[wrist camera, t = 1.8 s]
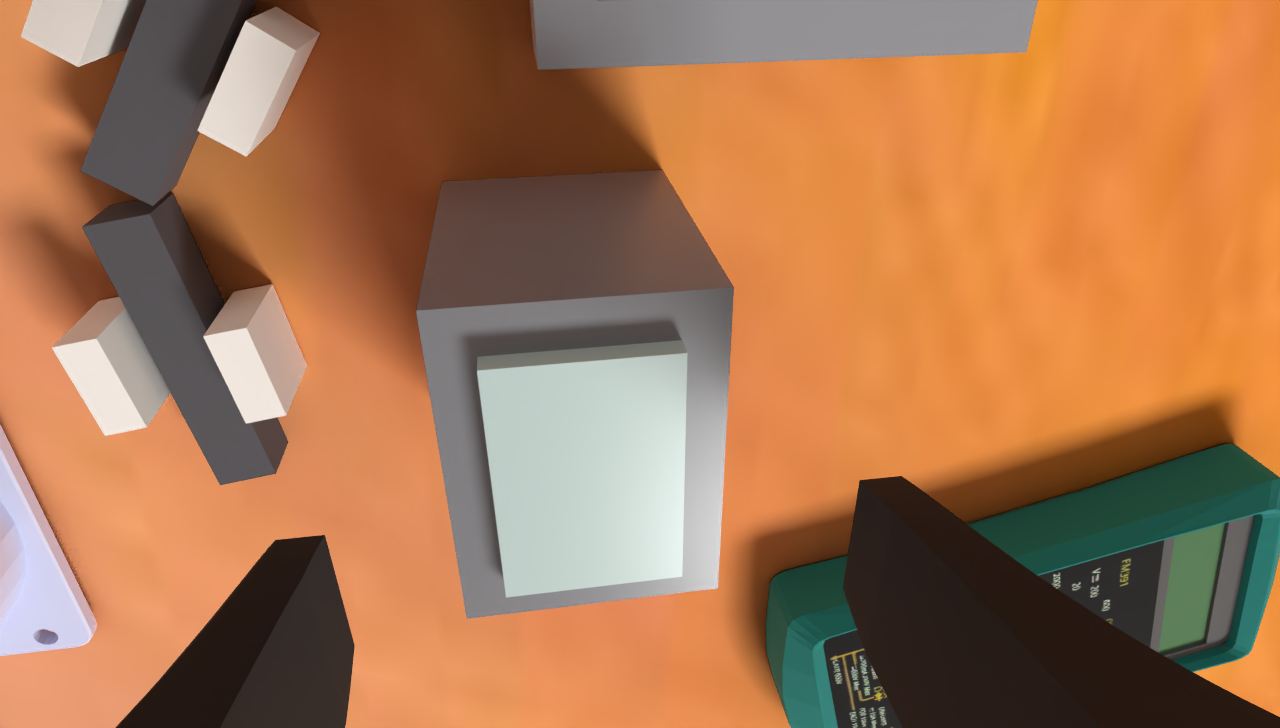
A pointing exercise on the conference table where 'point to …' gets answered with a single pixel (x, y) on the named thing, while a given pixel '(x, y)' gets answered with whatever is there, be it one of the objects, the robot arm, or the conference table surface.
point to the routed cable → (179, 221)
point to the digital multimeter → (1071, 579)
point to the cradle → (769, 30)
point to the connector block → (576, 388)
